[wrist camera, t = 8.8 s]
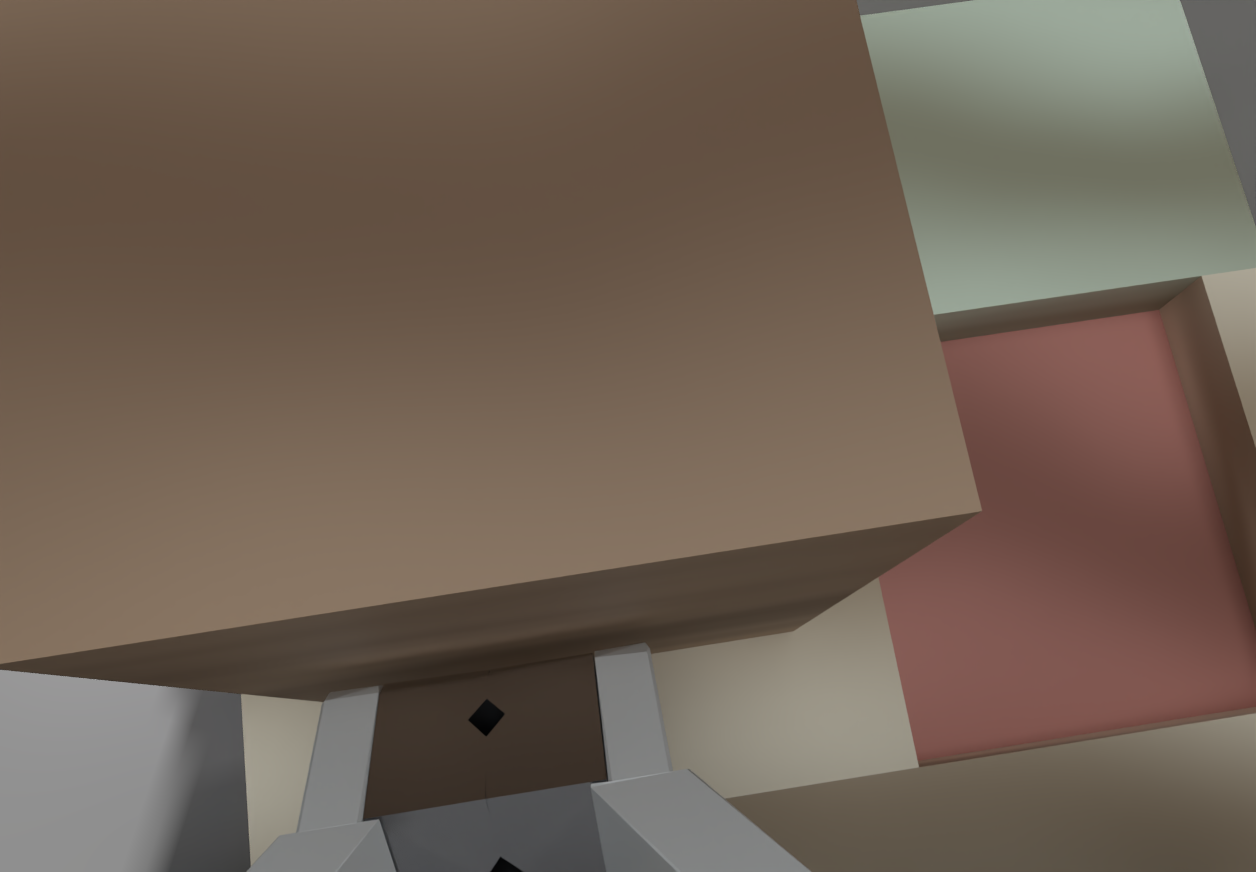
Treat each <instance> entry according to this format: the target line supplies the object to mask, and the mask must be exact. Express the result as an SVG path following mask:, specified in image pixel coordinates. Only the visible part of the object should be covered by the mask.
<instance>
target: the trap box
mask: <svg viewBox="0 0 1256 872" xmlns="http://www.w3.org/2000/svg"><path fill="white" fill-rule="evenodd" d="M860 18H861V22H862V26H863V30H864V34H865V38H866V42H867V46H868V50H869V54H870V58H871V62H872V66H873V70H874V74H875V78H876V82H877V87H878V91H879V95H880V99H881V103H882V107H883V111H884V115H885V119H886V123H887V127H888V131H889V135H890V139H891V143H892V147H893V151H894V155H895V160H896V164H897V168H898V172H899V176H900V180H901V184H902V188H903V192H904V196H905V200H906V204H907V208H908V212H909V216H910V220H911V224H912V228H913V233H914V237H915V241H916V245H917V249H918V253H919V257H920V261H921V265H922V269H923V273H924V277H925V281H926V285H927V289H928V293H929V297H930V301H931V306H932V310H933V314H934V318H935V322H936V326H937V330H938V334H939V338H940V342H941V346H942V350H943V354H944V358H945V362H946V366H947V370H948V374H949V379H950V383H951V387H952V391H953V395H954V399H955V403H956V407H957V411H958V415H959V419H960V423H961V427H962V431H963V435H964V439H965V443H966V447H967V452H968V456H969V460H970V464H971V468H972V472H973V476H974V480H975V484H976V488H977V492H978V496H979V500H980V504H981V508H982V512H980V513H978V514H977V515H975V516H974V517H972V518H971V519H969V520H967V521H966V522H964V523H963V524H961V525H960V526H958V527H956V528H955V529H953V530H952V531H950V532H949V533H947V534H945V535H944V536H942V537H941V538H939V539H938V540H936V541H934V542H933V543H931V544H930V545H928V546H927V547H925V548H923V549H922V550H920V551H919V552H917V553H916V554H914V555H912V556H911V557H909V558H908V559H906V560H905V561H903V562H901V563H900V564H898V565H897V566H895V567H894V568H892V569H890V570H889V571H887V572H886V573H884V574H883V575H881V576H879V577H878V578H876V579H875V580H873V581H872V582H870V583H868V584H867V585H865V586H864V587H862V588H861V589H859V590H857V591H856V592H854V593H853V594H851V595H850V596H848V597H846V598H845V599H843V600H842V601H840V602H839V603H837V604H835V605H834V606H832V607H831V608H829V609H828V610H826V611H824V612H823V613H821V614H820V615H818V616H817V617H815V618H813V619H812V620H810V621H809V622H807V623H806V624H804V625H802V626H801V627H799V628H798V629H796V630H795V631H793V632H786V633H780V634H774V635H767V636H761V637H755V638H748V639H742V640H736V641H730V642H723V643H717V644H711V645H704V646H698V647H692V648H686V649H679V650H673V651H667V652H660V653H654V654H651V657H652V663H653V668H654V673H655V679H656V684H657V689H658V694H659V700H660V705H661V710H662V715H663V721H664V726H665V731H666V737H667V742H668V747H669V752H670V758H671V763H672V768H673V771H677V770H684V769H690V770H691V771H692V772H694V773H695V774H696V775H697V776H698V777H700V778H701V779H702V780H703V781H704V782H706V783H707V784H708V785H709V786H710V787H711V788H713V789H714V790H715V791H716V792H717V793H719V794H720V795H721V796H722V797H723V798H725V799H726V800H727V801H728V802H729V803H731V804H732V805H733V806H734V807H735V808H736V809H738V810H739V811H740V812H741V813H742V814H744V815H745V816H746V817H747V818H748V819H750V820H751V821H752V822H753V823H754V824H756V825H757V826H758V827H759V828H760V829H761V830H763V831H764V832H765V833H766V834H767V835H769V836H770V837H771V838H772V839H773V840H775V841H776V842H777V843H778V844H779V845H781V846H782V847H783V848H784V849H785V850H786V851H788V852H789V853H790V854H791V855H792V856H794V857H795V858H796V859H797V860H798V861H800V862H801V863H802V864H803V865H804V866H806V867H807V868H808V869H809V870H810V871H811V872H1256V226H1255V223H1254V220H1253V217H1252V214H1251V211H1250V208H1249V205H1248V202H1247V199H1246V196H1245V193H1244V190H1243V187H1242V184H1241V181H1240V179H1239V176H1238V173H1237V170H1236V167H1235V164H1234V161H1233V158H1232V155H1231V152H1230V149H1229V146H1228V143H1227V140H1226V137H1225V134H1224V131H1223V128H1222V125H1221V122H1220V119H1219V116H1218V113H1217V110H1216V107H1215V104H1214V101H1213V98H1212V95H1211V92H1210V89H1209V86H1208V83H1207V80H1206V77H1205V74H1204V71H1203V68H1202V65H1201V62H1200V59H1199V56H1198V53H1197V50H1196V47H1195V44H1194V41H1193V38H1192V35H1191V32H1190V29H1189V26H1188V23H1187V20H1186V17H1185V14H1184V11H1183V8H1182V5H1181V2H1180V0H974V1H966V2H959V3H951V4H944V5H937V6H929V7H922V8H914V9H907V10H900V11H892V12H885V13H877V14H870V15H863V16H860ZM241 701H242V719H243V736H244V754H245V772H246V789H247V807H248V825H249V843H250V860H251V866H252V865H253V864H254V863H255V862H256V860H257V859H258V858H259V857H260V856H261V855H262V854H263V853H264V852H265V851H266V850H267V848H268V847H269V846H270V845H271V844H272V843H273V842H274V841H275V840H276V839H277V838H278V837H279V836H280V835H285V834H291V833H296V830H297V825H298V820H299V815H300V810H301V805H302V800H303V795H304V790H305V786H306V781H307V776H308V771H309V766H310V761H311V756H312V751H313V746H314V741H315V736H316V731H317V726H318V721H319V716H320V711H321V706H322V704H323V702H316V701H306V700H296V699H286V698H276V697H267V696H257V695H247V694H241Z"/></svg>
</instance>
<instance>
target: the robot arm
mask: <svg viewBox="0 0 1256 872" xmlns="http://www.w3.org/2000/svg"><path fill="white" fill-rule="evenodd" d="M246 872H811V871H810V870H809V869H808V868H807V867H806V866H804V865H803V864H802V863H801V862H800V861H798V860H797V859H796V858H795V857H794V856H792V855H791V854H790V853H789V852H788V851H786V850H785V849H784V848H783V847H782V846H781V845H779V844H778V843H777V842H776V841H775V840H773V839H772V838H771V837H770V836H769V835H767V834H766V833H765V832H764V831H763V830H761V829H760V828H759V827H758V826H757V825H756V824H754V823H753V822H752V821H751V820H750V819H748V818H747V817H746V816H745V815H744V814H742V813H741V812H740V811H739V810H738V809H736V808H735V807H734V806H733V805H732V804H731V803H729V802H728V801H727V800H726V799H725V798H723V797H722V796H721V795H720V794H719V793H717V792H716V791H715V790H714V789H713V788H711V787H710V786H709V785H708V784H707V783H706V782H704V781H703V780H702V779H701V778H700V777H698V776H697V775H696V774H695V773H694V772H692V771H691V770H690V769H684V770H677V771H673V768H672V763H671V758H670V752H669V747H668V742H667V737H666V731H665V726H664V721H663V715H662V710H661V705H660V700H659V694H658V689H657V684H656V679H655V673H654V668H653V663H652V657H651V652H650V648H649V647H648V645H647V644H646V643H645V642H643V643H638V644H632V645H626V646H621V647H615V648H610V649H604V650H599V651H595V660H594V655H593V653H588V654H582V655H576V656H569V657H563V658H557V659H551V660H545V661H539V662H533V663H527V664H521V665H515V666H509V667H503V668H497V669H491V670H483V671H476V672H468V673H461V674H454V675H446V676H439V677H431V678H424V679H417V680H409V681H402V682H394V683H387V684H384V685H383V686H372V687H365V688H357V689H350V690H343V691H335V692H330V693H329V694H328V696H327V697H326V699H325V701H324V702H323V704H322V706H321V711H320V716H319V721H318V726H317V731H316V736H315V741H314V746H313V751H312V756H311V761H310V766H309V771H308V776H307V781H306V786H305V790H304V795H303V800H302V805H301V810H300V815H299V820H298V825H297V830H296V833H291V834H285V835H280V836H279V837H278V838H277V839H276V840H275V841H274V842H273V843H272V844H271V845H270V846H269V847H268V848H267V850H266V851H265V852H264V853H263V854H262V855H261V856H260V857H259V858H258V859H257V860H256V862H255V863H254V864H253V865H252V866H251V867H250V868H249V869H248V870H247V871H246Z"/></svg>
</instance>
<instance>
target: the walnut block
mask: <svg viewBox="0 0 1256 872" xmlns="http://www.w3.org/2000/svg"><path fill="white" fill-rule="evenodd" d="M980 512H982V508H981V504H980V500H979V496H978V492H977V488H976V484H975V480H974V476H973V472H972V468H971V464H970V460H969V456H968V452H967V447H966V443H965V439H964V435H963V431H962V427H961V423H960V419H959V415H958V411H957V407H956V403H955V399H954V395H953V391H952V387H951V383H950V379H949V374H948V370H947V366H946V362H945V358H944V354H943V350H942V346H941V342H940V338H939V334H938V330H937V326H936V322H935V318H934V314H933V310H932V306H931V301H930V297H929V293H928V289H927V285H926V281H925V277H924V273H923V269H922V265H921V261H920V257H919V253H918V249H917V245H916V241H915V237H914V233H913V228H912V224H911V220H910V216H909V212H908V208H907V204H906V200H905V196H904V192H903V188H902V184H901V180H900V176H899V172H898V168H897V164H896V160H895V155H894V151H893V147H892V143H891V139H890V135H889V131H888V127H887V123H886V119H885V115H884V111H883V107H882V103H881V99H880V95H879V91H878V87H877V82H876V78H875V74H874V70H873V66H872V62H871V58H870V54H869V50H868V46H867V42H866V38H865V34H864V30H863V26H862V22H861V18H860V14H859V9H858V5H857V1H856V0H0V670H11V671H20V672H30V673H39V674H50V675H60V676H69V677H79V678H89V679H98V680H108V681H118V682H128V683H138V684H148V685H158V686H168V687H178V688H187V689H197V690H207V691H217V692H227V693H237V694H247V695H257V696H267V697H276V698H286V699H296V700H306V701H316V702H324V701H325V699H326V697H327V696H328V694H329V693H330V692H335V691H343V690H350V689H357V688H365V687H372V686H383V685H384V684H387V683H394V682H402V681H409V680H417V679H424V678H431V677H439V676H446V675H454V674H461V673H468V672H476V671H483V670H491V669H497V668H503V667H509V666H515V665H521V664H527V663H533V662H539V661H545V660H551V659H557V658H563V657H569V656H576V655H582V654H588V653H593V655H594V660H595V651H599V650H604V649H610V648H615V647H621V646H626V645H632V644H638V643H643V642H645V643H646V644H647V645H648V647H649V648H650V652H651V654H654V653H660V652H667V651H673V650H679V649H686V648H692V647H698V646H704V645H711V644H717V643H723V642H730V641H736V640H742V639H748V638H755V637H761V636H767V635H774V634H780V633H786V632H793V631H795V630H796V629H798V628H799V627H801V626H802V625H804V624H806V623H807V622H809V621H810V620H812V619H813V618H815V617H817V616H818V615H820V614H821V613H823V612H824V611H826V610H828V609H829V608H831V607H832V606H834V605H835V604H837V603H839V602H840V601H842V600H843V599H845V598H846V597H848V596H850V595H851V594H853V593H854V592H856V591H857V590H859V589H861V588H862V587H864V586H865V585H867V584H868V583H870V582H872V581H873V580H875V579H876V578H878V577H879V576H881V575H883V574H884V573H886V572H887V571H889V570H890V569H892V568H894V567H895V566H897V565H898V564H900V563H901V562H903V561H905V560H906V559H908V558H909V557H911V556H912V555H914V554H916V553H917V552H919V551H920V550H922V549H923V548H925V547H927V546H928V545H930V544H931V543H933V542H934V541H936V540H938V539H939V538H941V537H942V536H944V535H945V534H947V533H949V532H950V531H952V530H953V529H955V528H956V527H958V526H960V525H961V524H963V523H964V522H966V521H967V520H969V519H971V518H972V517H974V516H975V515H977V514H978V513H980Z"/></svg>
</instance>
